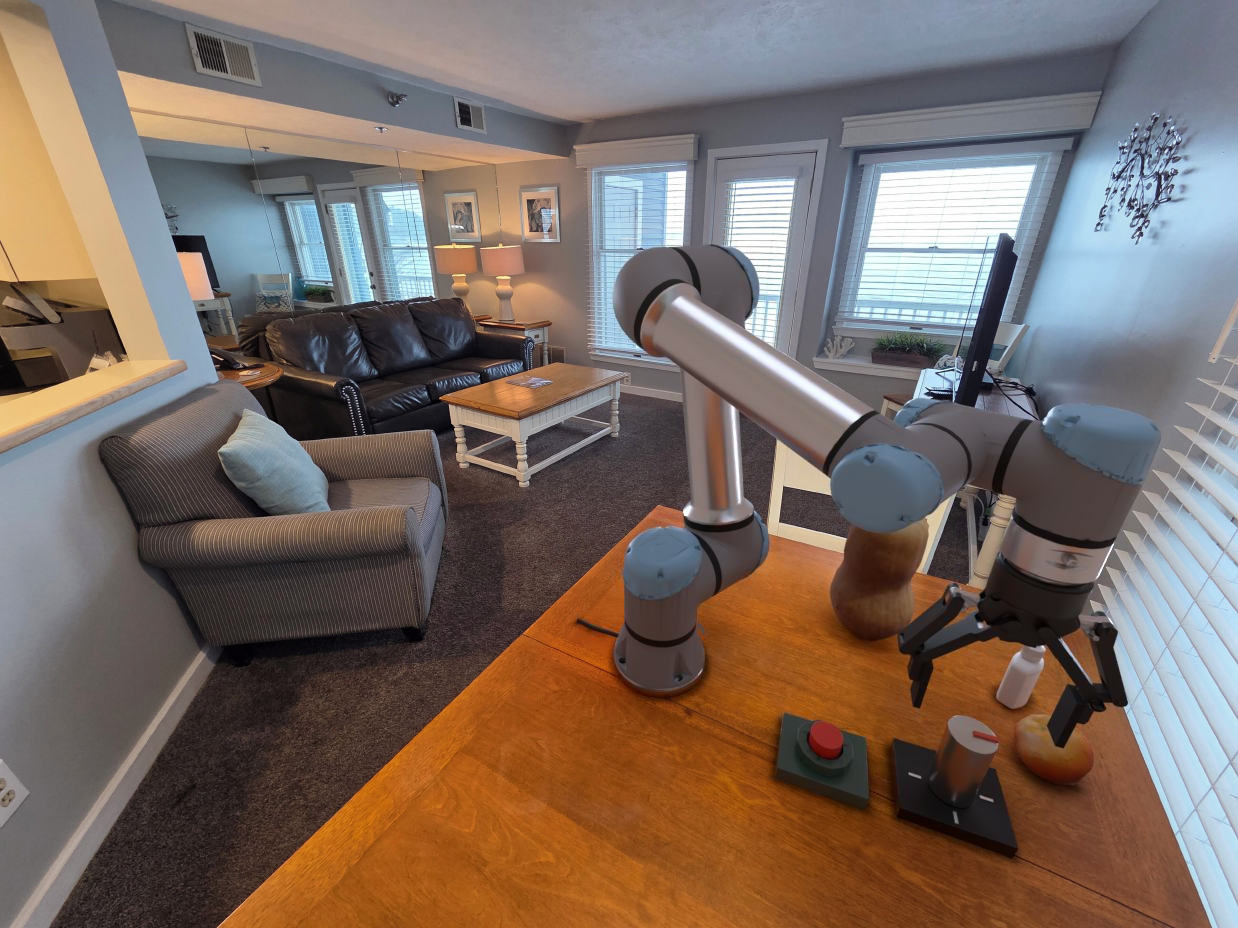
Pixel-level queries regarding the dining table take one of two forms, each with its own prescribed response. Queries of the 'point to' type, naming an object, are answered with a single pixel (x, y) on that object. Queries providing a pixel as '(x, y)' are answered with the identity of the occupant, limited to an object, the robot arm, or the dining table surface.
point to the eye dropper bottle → (1021, 677)
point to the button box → (823, 763)
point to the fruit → (1052, 751)
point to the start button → (825, 740)
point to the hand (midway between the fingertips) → (981, 717)
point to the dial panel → (921, 806)
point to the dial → (962, 760)
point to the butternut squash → (878, 580)
